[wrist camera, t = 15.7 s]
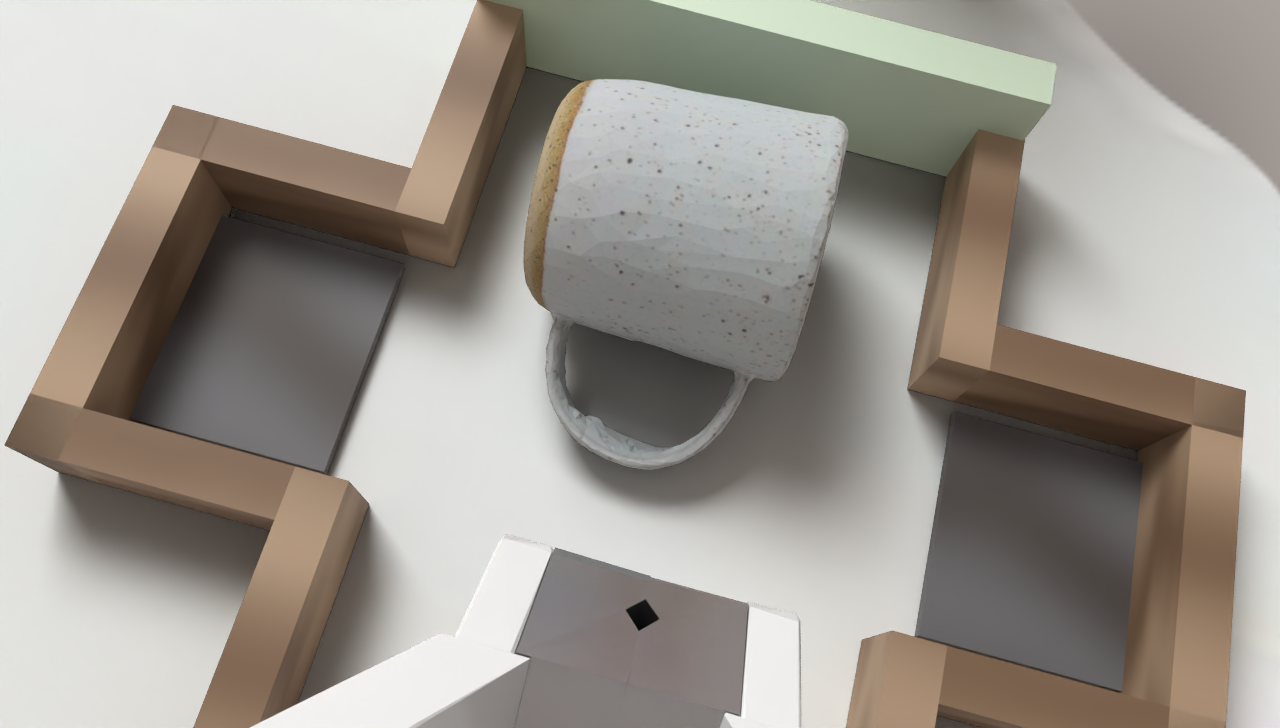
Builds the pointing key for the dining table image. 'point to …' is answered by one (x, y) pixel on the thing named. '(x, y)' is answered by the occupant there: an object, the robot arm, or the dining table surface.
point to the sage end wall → (802, 67)
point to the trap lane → (435, 230)
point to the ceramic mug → (679, 236)
